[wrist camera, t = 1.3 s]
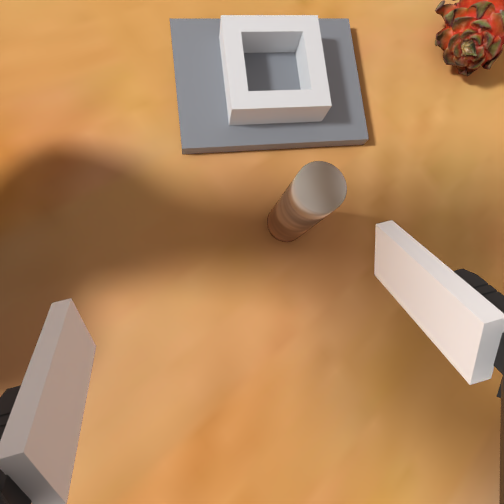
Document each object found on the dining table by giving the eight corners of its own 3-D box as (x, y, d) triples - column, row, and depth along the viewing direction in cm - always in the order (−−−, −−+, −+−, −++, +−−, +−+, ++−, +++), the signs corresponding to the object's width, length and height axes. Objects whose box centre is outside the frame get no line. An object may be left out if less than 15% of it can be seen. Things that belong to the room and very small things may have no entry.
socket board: (182, 154, 44) (180, 134, 39) (170, 28, 46) (167, -6, 41) (363, 144, 47) (382, 125, 43) (344, 27, 50) (360, -4, 45)
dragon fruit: (438, 98, 52) (435, 31, 56) (514, 82, 48) (505, 10, 52) (434, 50, 45) (431, -24, 49) (523, 26, 41) (512, -52, 45)
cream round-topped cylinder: (269, 243, 44) (298, 214, 31) (265, 205, 44) (291, 162, 32) (306, 239, 44) (350, 210, 32) (301, 203, 45) (342, 159, 32)
